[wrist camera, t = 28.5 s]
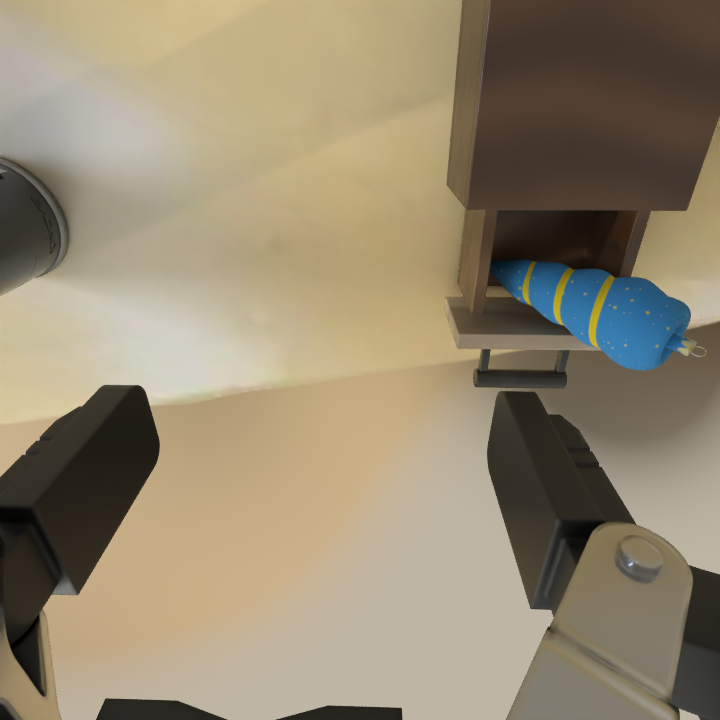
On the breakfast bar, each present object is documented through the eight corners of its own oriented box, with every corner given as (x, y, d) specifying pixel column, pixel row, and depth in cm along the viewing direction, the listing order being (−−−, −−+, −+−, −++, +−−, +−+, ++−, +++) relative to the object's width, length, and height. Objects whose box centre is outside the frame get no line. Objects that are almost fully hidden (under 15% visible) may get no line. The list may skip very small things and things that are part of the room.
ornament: (510, 272, 37) (717, 353, 28) (469, 311, 36) (672, 409, 26) (507, 219, 34) (745, 290, 24) (461, 259, 32) (695, 352, 23)
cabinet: (617, 185, 34) (687, 211, 26) (446, 185, 34) (466, 210, 27) (688, -82, 27) (813, -152, 19) (469, -79, 27) (505, -147, 19)
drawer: (570, 360, 40) (603, 405, 35) (439, 358, 41) (450, 403, 35) (630, 129, 31) (690, 137, 25) (461, 129, 32) (481, 137, 26)
